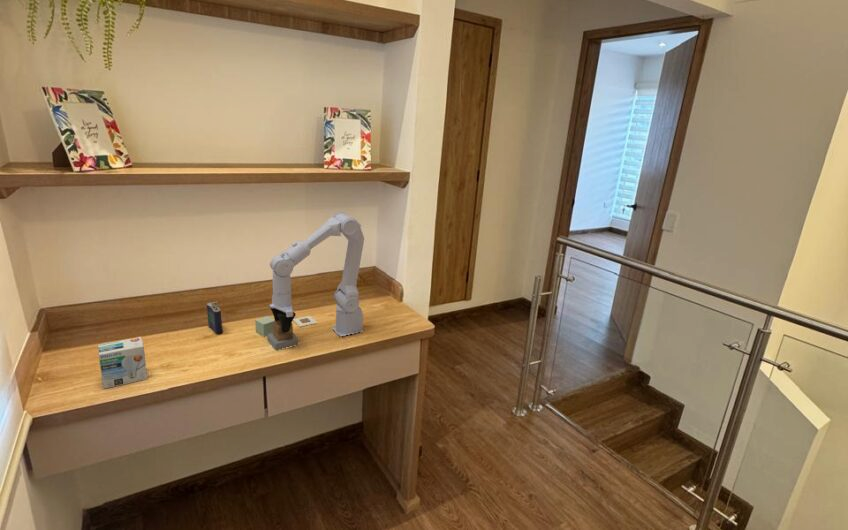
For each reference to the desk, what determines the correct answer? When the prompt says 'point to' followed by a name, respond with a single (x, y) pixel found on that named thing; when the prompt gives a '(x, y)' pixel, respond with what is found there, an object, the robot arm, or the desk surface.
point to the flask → (214, 318)
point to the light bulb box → (122, 362)
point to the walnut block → (278, 331)
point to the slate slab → (282, 341)
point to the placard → (304, 321)
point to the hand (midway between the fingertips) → (282, 328)
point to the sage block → (264, 326)
